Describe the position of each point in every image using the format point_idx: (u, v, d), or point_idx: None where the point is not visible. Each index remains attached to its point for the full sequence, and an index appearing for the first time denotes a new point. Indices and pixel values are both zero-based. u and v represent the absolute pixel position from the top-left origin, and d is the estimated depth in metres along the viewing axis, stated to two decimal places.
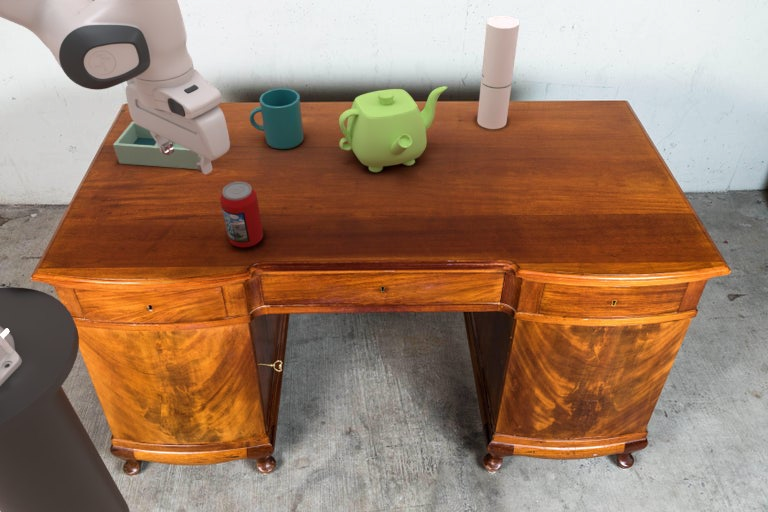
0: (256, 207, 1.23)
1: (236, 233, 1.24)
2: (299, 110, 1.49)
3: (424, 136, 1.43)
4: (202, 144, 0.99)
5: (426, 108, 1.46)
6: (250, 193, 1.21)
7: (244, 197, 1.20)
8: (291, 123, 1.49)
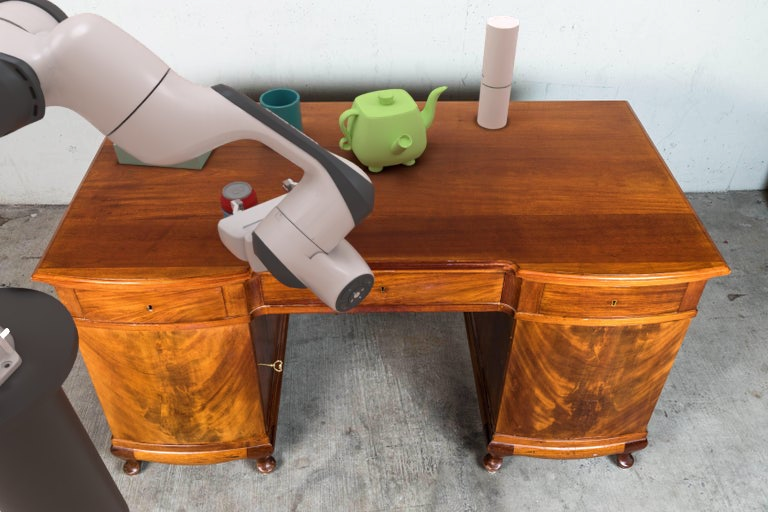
0: None
1: None
2: (299, 110, 1.49)
3: (424, 136, 1.43)
4: (233, 224, 1.01)
5: (426, 108, 1.46)
6: (250, 193, 1.21)
7: (244, 197, 1.20)
8: (291, 123, 1.49)
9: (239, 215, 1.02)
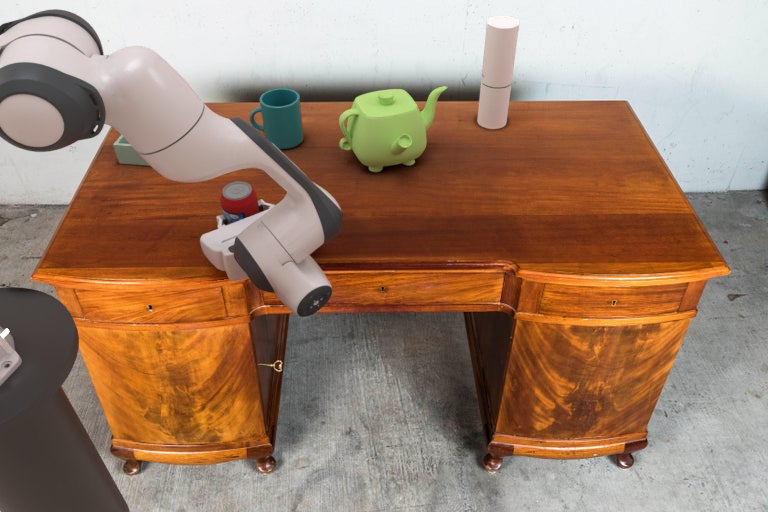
0: (256, 207, 1.23)
1: None
2: (299, 110, 1.49)
3: (424, 136, 1.43)
4: (214, 239, 1.16)
5: (426, 108, 1.46)
6: (250, 193, 1.21)
7: (244, 197, 1.20)
8: (291, 123, 1.49)
9: (219, 231, 1.18)
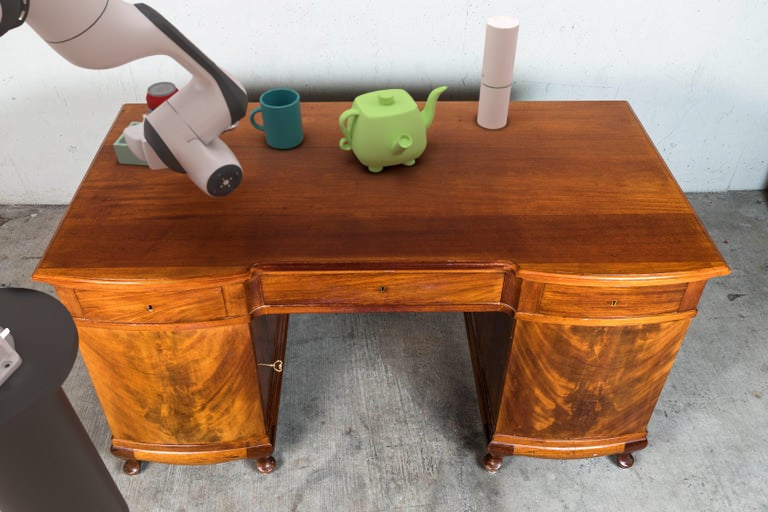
0: None
1: None
2: (299, 110, 1.49)
3: (424, 136, 1.43)
4: (136, 130, 1.22)
5: (426, 108, 1.46)
6: (174, 91, 1.27)
7: (167, 94, 1.26)
8: (291, 123, 1.49)
9: (142, 124, 1.24)
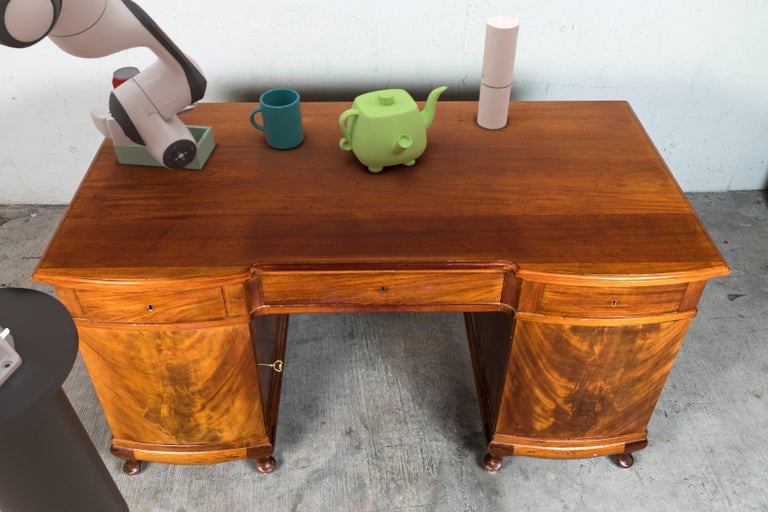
0: None
1: None
2: (299, 110, 1.49)
3: (424, 136, 1.43)
4: (102, 110, 1.34)
5: (426, 108, 1.46)
6: None
7: (131, 77, 1.38)
8: (291, 123, 1.49)
9: (107, 105, 1.36)
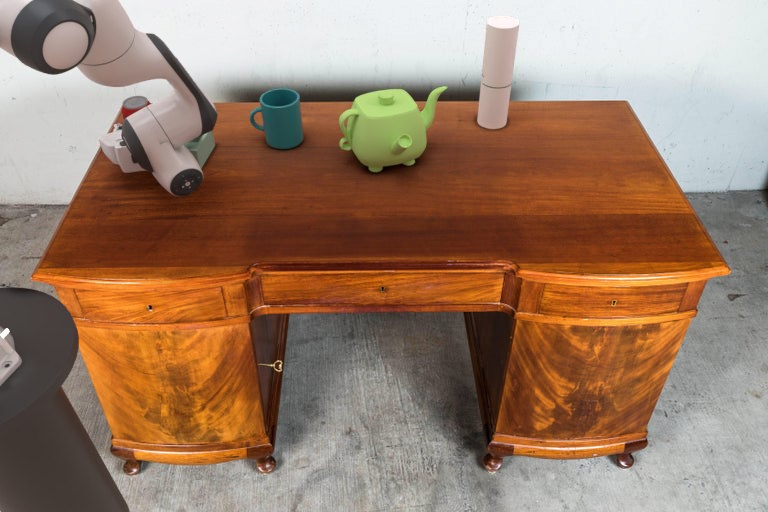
0: None
1: None
2: (299, 110, 1.49)
3: (424, 136, 1.43)
4: (110, 138, 1.39)
5: (426, 108, 1.46)
6: (146, 104, 1.43)
7: (140, 107, 1.42)
8: (291, 123, 1.49)
9: (115, 132, 1.40)
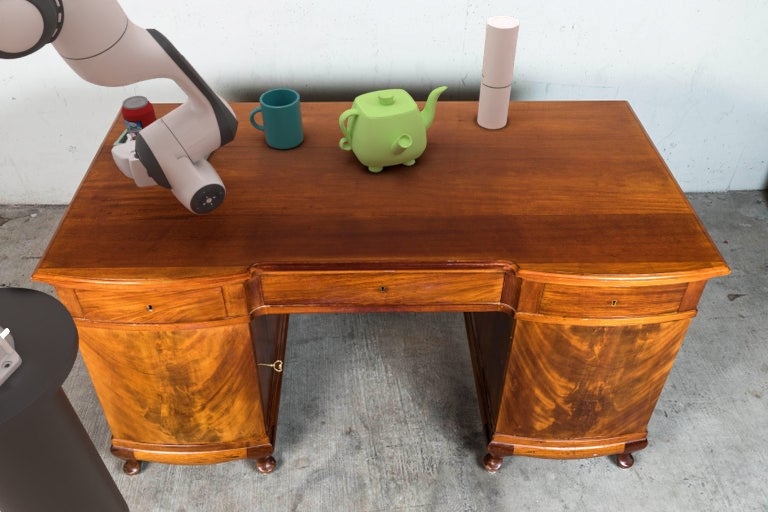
0: (152, 117, 1.45)
1: None
2: (299, 110, 1.49)
3: (424, 136, 1.43)
4: (123, 149, 1.28)
5: (426, 108, 1.46)
6: (146, 104, 1.43)
7: (140, 107, 1.42)
8: (291, 123, 1.49)
9: (129, 143, 1.29)
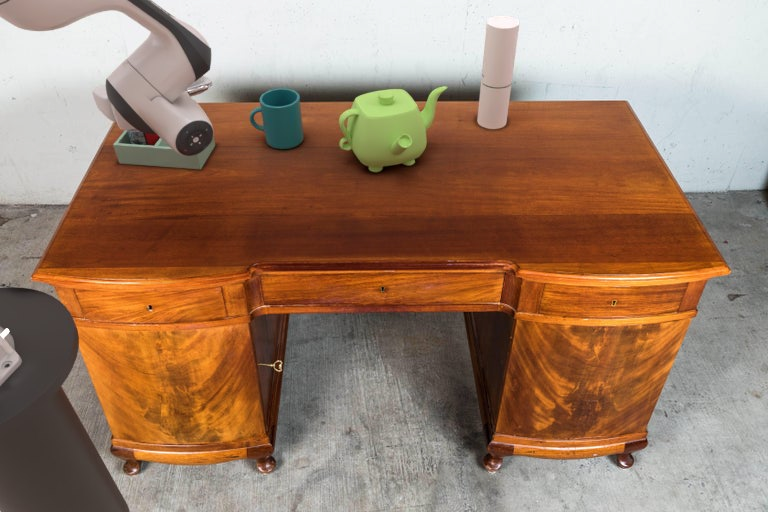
0: None
1: (136, 140, 1.46)
2: (299, 110, 1.49)
3: (424, 136, 1.43)
4: (105, 90, 1.19)
5: (426, 108, 1.46)
6: None
7: None
8: (291, 123, 1.49)
9: None
